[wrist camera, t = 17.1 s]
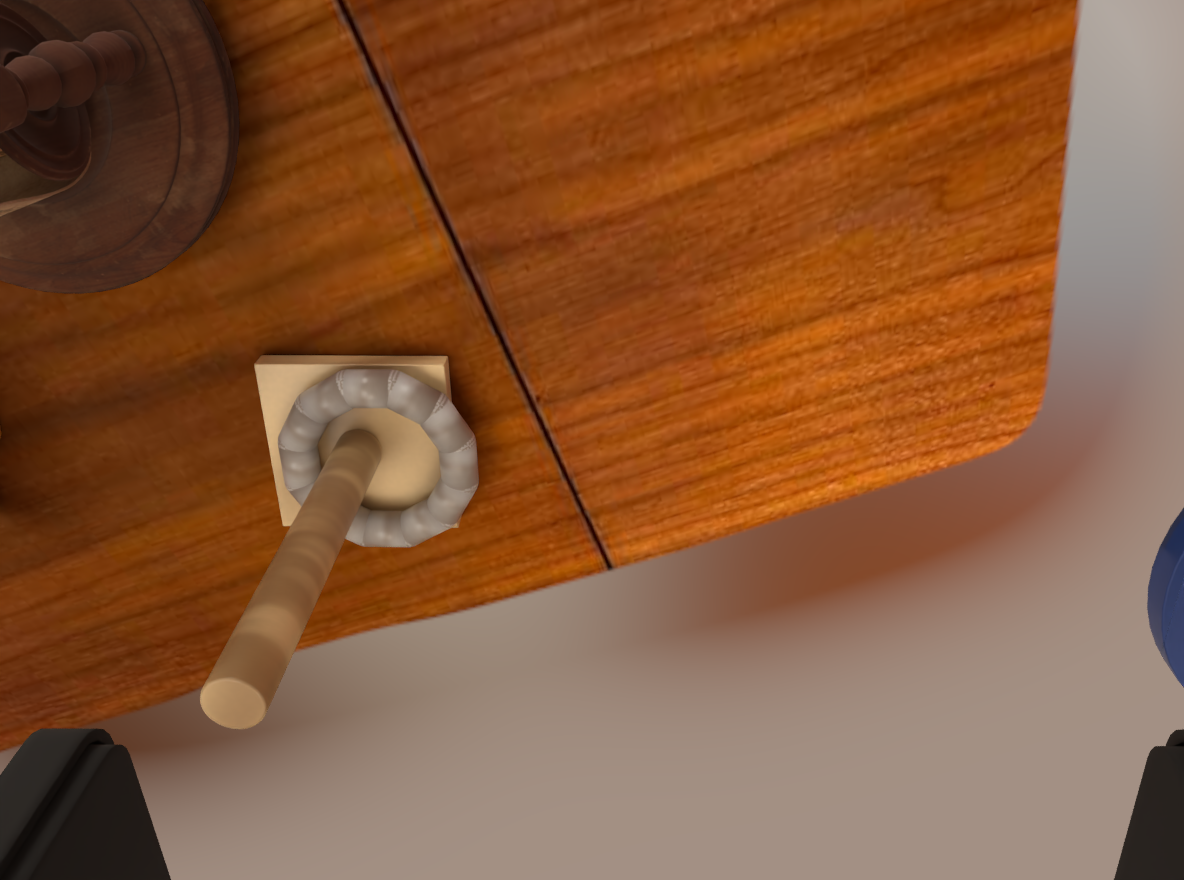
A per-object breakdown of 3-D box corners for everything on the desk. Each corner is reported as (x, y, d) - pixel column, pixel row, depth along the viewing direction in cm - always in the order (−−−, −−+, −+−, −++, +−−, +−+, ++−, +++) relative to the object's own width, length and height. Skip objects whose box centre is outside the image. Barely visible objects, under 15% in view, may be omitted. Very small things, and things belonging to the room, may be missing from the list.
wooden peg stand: (448, 355, 44) (349, 597, 29) (461, 516, 48) (380, 804, 33) (261, 354, 44) (67, 593, 29) (289, 514, 48) (130, 799, 33)
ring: (473, 363, 43) (468, 379, 42) (485, 535, 47) (481, 555, 46) (272, 362, 44) (260, 378, 42) (301, 532, 47) (290, 552, 46)
